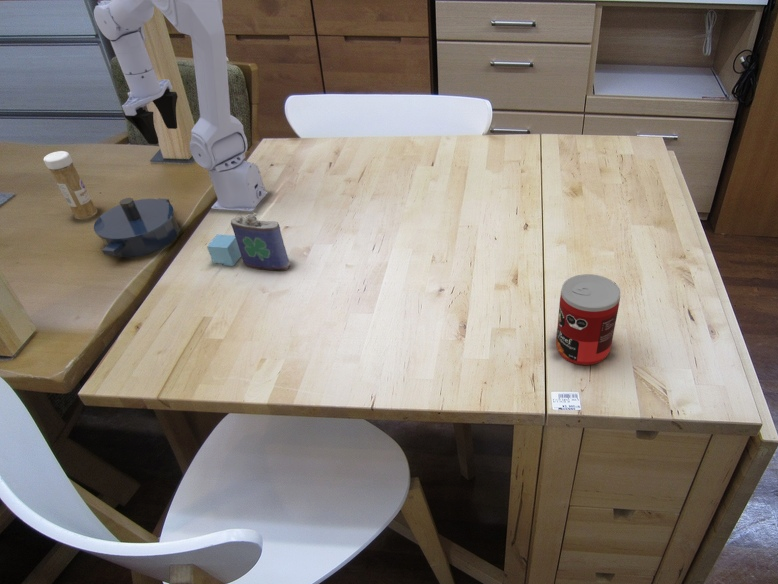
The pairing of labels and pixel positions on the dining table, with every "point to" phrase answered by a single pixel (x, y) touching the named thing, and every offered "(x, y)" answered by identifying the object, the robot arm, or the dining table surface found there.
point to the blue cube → (224, 250)
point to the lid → (133, 219)
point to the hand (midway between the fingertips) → (163, 135)
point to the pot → (143, 241)
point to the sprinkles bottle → (70, 184)
